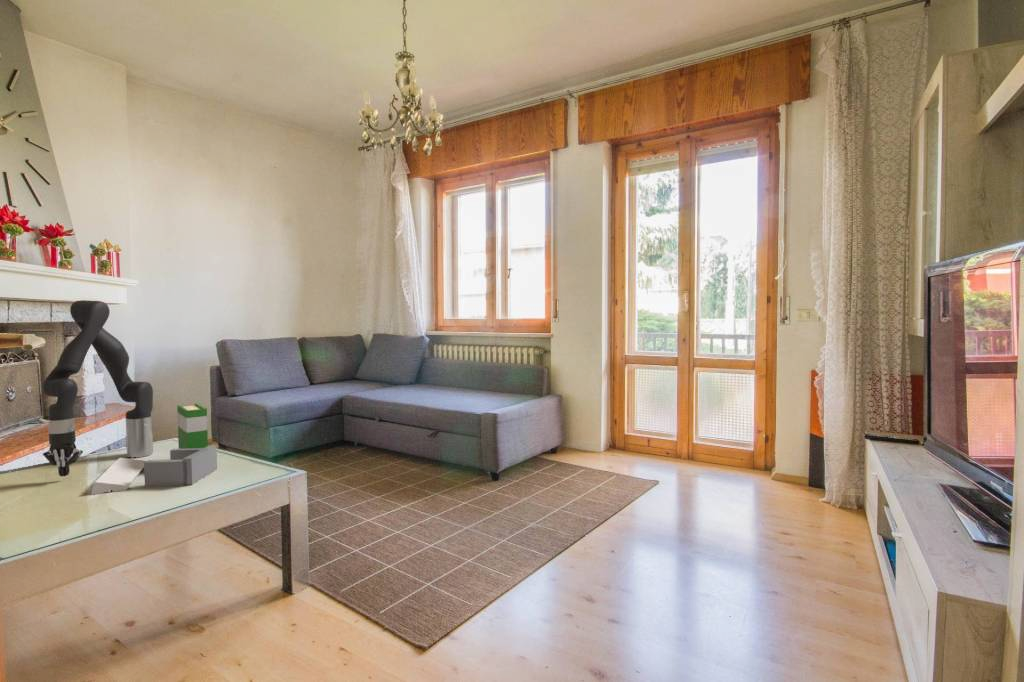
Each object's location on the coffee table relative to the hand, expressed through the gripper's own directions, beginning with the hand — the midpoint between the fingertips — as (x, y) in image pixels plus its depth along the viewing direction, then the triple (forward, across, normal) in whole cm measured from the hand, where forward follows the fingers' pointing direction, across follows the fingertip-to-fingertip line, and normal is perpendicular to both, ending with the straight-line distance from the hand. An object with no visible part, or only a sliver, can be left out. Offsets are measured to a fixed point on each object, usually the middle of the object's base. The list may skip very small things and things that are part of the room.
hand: (64, 475), depth 191 cm
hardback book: (+2, -36, -21) cm, 42 cm away
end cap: (+2, -42, 0) cm, 42 cm away
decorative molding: (+3, -20, -1) cm, 20 cm away
